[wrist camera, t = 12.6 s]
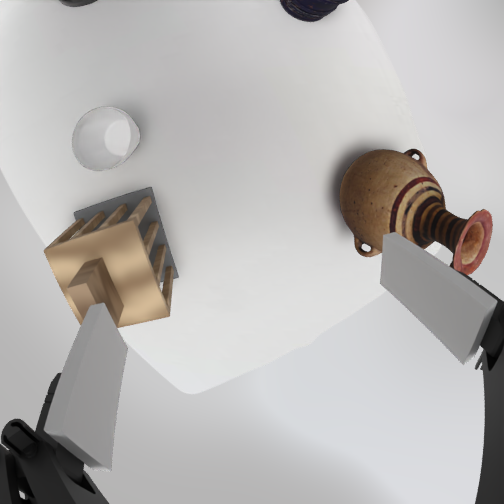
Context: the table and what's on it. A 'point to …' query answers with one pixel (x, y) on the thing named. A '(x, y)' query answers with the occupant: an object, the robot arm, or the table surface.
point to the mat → (150, 216)
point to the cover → (112, 267)
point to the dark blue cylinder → (310, 8)
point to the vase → (408, 208)
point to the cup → (104, 138)
